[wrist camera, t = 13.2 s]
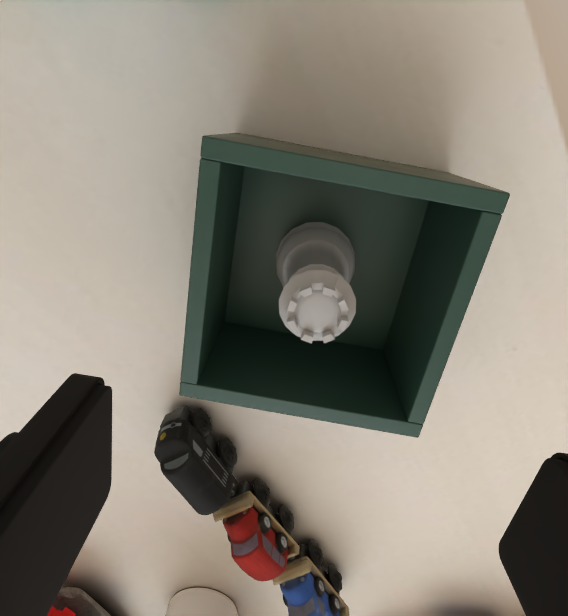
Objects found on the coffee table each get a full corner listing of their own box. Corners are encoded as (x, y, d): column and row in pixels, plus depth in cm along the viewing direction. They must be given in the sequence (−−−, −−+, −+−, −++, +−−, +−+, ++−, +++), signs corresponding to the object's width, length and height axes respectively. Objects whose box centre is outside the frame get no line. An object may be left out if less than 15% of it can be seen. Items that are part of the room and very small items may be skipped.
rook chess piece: (303, 204, 23) (300, 240, 16) (370, 246, 24) (397, 300, 17) (261, 270, 25) (242, 330, 17) (325, 308, 26) (332, 382, 18)
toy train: (197, 390, 29) (176, 441, 24) (356, 582, 36) (363, 651, 31) (155, 413, 30) (127, 466, 25) (318, 596, 37) (319, 665, 32)
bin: (235, 132, 23) (201, 135, 16) (449, 172, 23) (511, 193, 16) (212, 326, 27) (178, 395, 20) (390, 358, 27) (418, 438, 20)
